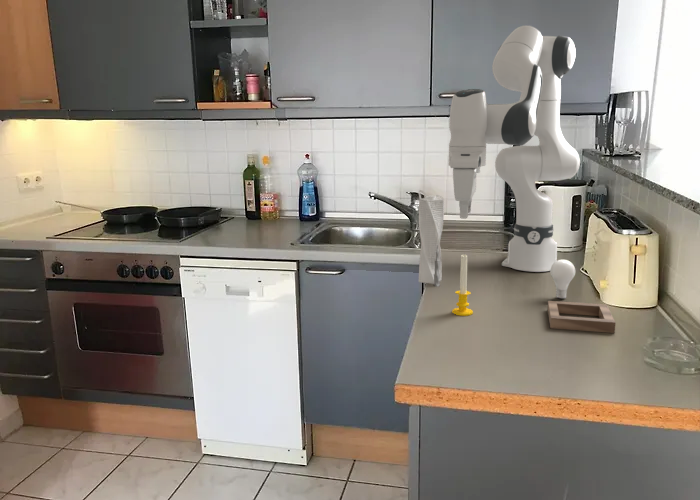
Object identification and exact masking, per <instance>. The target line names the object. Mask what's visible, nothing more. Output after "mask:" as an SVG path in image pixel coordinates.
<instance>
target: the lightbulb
mask: <svg viewBox="0 0 700 500" xmlns="http://www.w3.org/2000/svg"><path fill="white" fill-rule="evenodd" d="M549 272H550V276H551V278H552V280H553V281H554V284H555V285H554V287H555V288H556V289H555V290H556V291H555V292H556V294H555V297H556V298H557V299H558V300H564V299H566V298H567V291H568V288H569V285H570V283H571V281H572V280H573V279H574V278H575V276H576V268H575V266H574V263H573V262H571V261H569V260H568V259H558V260H557V261H556V262H554V263H553V264H552V266H551V269H550V271H549Z"/></svg>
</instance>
